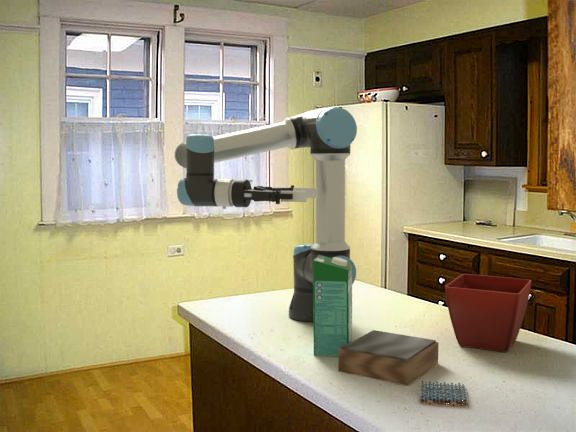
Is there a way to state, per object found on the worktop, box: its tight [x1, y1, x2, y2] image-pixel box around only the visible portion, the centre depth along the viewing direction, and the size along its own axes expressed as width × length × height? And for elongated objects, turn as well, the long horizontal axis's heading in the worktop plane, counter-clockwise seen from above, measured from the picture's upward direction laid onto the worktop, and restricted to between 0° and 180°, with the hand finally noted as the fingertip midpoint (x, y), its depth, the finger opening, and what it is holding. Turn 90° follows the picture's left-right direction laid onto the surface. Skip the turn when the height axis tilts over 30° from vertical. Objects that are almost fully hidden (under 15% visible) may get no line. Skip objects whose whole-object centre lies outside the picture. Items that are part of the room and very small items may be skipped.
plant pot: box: [444, 273, 532, 353], centre depth 181 cm, size 19×19×17 cm
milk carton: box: [313, 255, 353, 358], centre depth 175 cm, size 9×9×25 cm
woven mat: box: [417, 380, 470, 408], centre depth 144 cm, size 10×11×2 cm
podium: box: [337, 329, 439, 386], centre depth 163 cm, size 18×18×6 cm
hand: (311, 194), depth 175 cm, fingers open, 13 cm apart
